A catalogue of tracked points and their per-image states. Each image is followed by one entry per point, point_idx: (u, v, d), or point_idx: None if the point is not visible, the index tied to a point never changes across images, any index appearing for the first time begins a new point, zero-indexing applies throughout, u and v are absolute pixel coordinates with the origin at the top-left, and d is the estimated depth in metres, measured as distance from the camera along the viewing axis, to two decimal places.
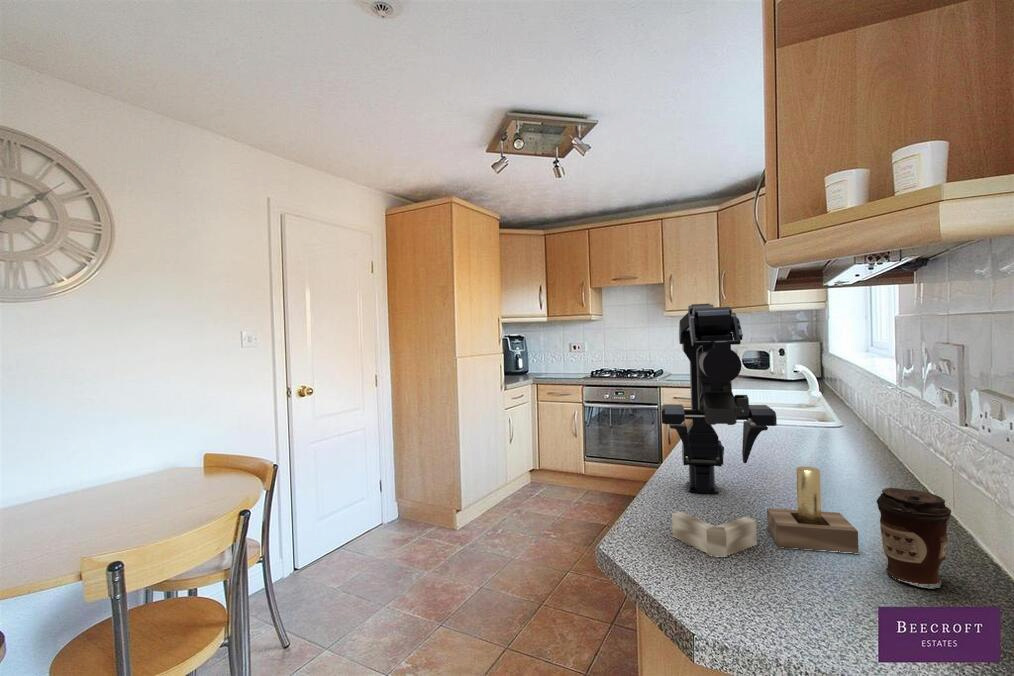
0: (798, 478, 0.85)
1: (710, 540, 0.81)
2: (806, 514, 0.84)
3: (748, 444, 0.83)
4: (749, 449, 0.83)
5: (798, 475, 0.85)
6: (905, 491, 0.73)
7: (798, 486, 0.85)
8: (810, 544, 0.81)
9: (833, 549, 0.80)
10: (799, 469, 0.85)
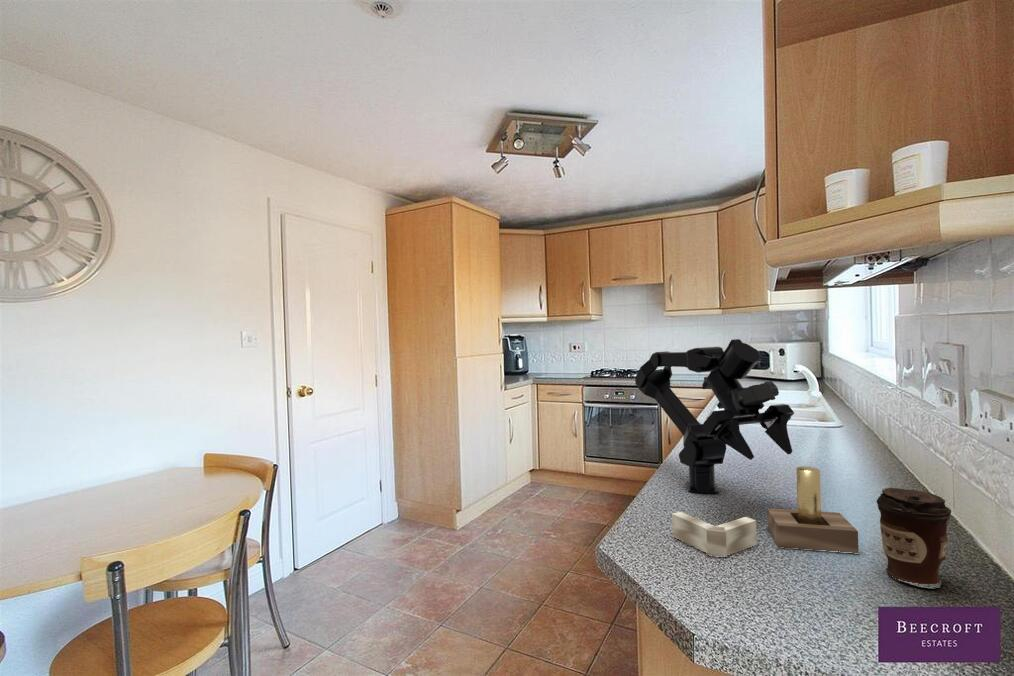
0: (798, 478, 0.85)
1: (710, 540, 0.81)
2: (806, 514, 0.84)
3: (784, 434, 0.95)
4: (788, 438, 0.95)
5: (798, 475, 0.85)
6: (905, 491, 0.73)
7: (798, 486, 0.85)
8: (810, 544, 0.81)
9: (833, 549, 0.80)
10: (799, 469, 0.85)
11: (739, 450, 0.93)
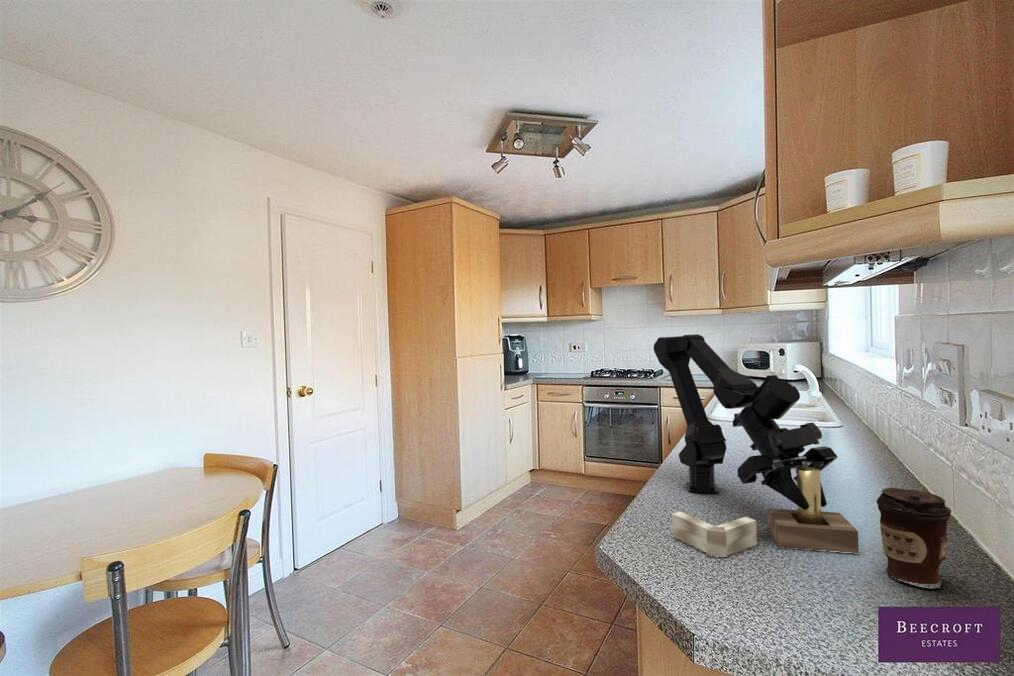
0: (798, 478, 0.85)
1: (710, 540, 0.81)
2: (806, 514, 0.84)
3: None
4: (821, 488, 0.85)
5: (798, 475, 0.85)
6: (905, 491, 0.73)
7: (798, 486, 0.85)
8: (810, 544, 0.81)
9: (833, 549, 0.80)
10: (799, 469, 0.85)
11: (791, 499, 0.85)
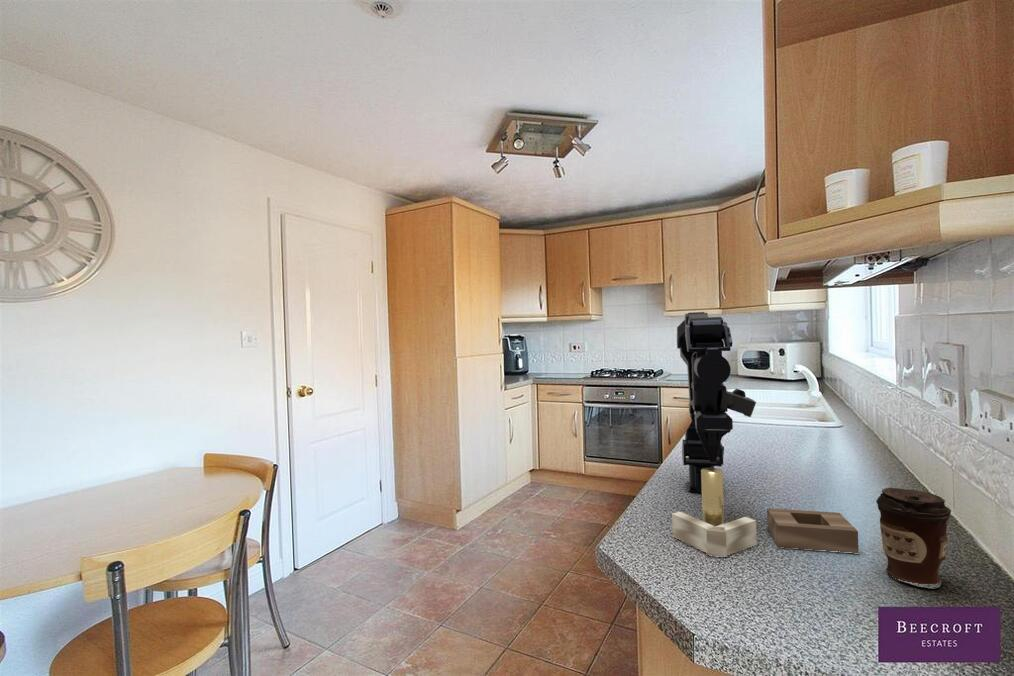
0: None
1: (710, 540, 0.81)
2: (703, 512, 0.86)
3: None
4: None
5: None
6: (905, 491, 0.73)
7: None
8: (810, 544, 0.81)
9: (833, 549, 0.80)
10: (702, 469, 0.87)
11: (708, 450, 0.91)
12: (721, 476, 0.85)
